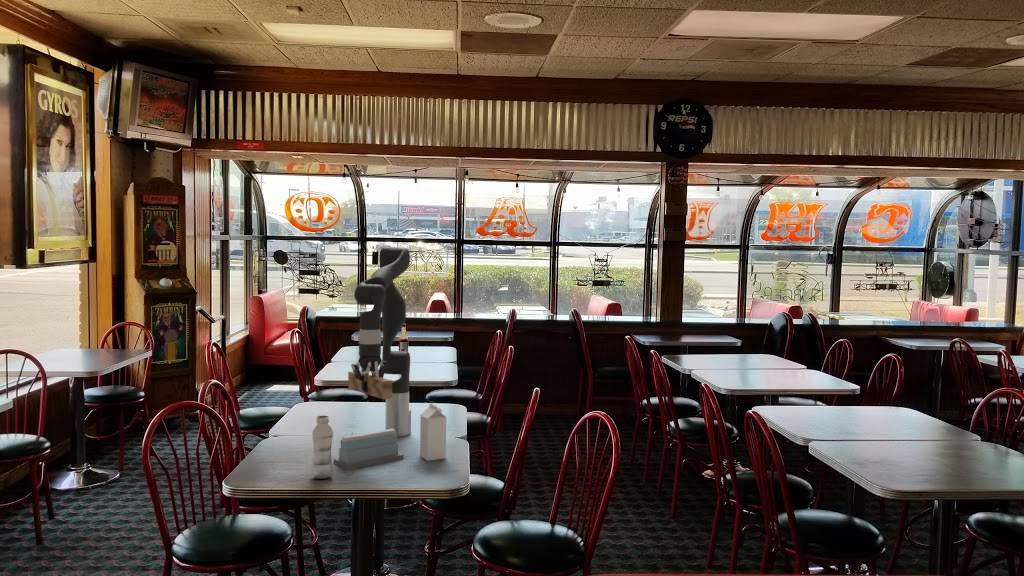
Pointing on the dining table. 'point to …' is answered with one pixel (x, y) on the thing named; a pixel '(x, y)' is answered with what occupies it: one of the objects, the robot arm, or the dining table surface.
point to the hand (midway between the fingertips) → (369, 391)
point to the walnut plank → (372, 386)
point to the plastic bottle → (322, 449)
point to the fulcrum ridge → (368, 449)
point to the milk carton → (433, 434)
